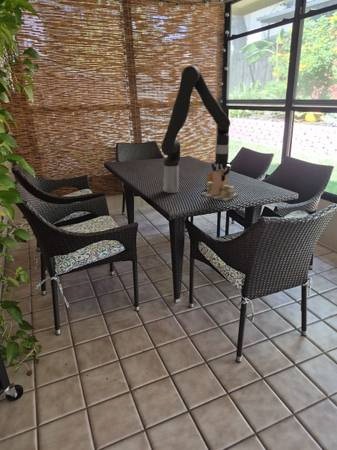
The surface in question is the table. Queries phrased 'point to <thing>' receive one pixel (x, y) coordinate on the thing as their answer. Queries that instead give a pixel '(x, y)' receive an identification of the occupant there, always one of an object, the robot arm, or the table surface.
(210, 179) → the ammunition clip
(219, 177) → the terracotta slotted plate
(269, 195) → the table surface
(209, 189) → the ash slotted base
